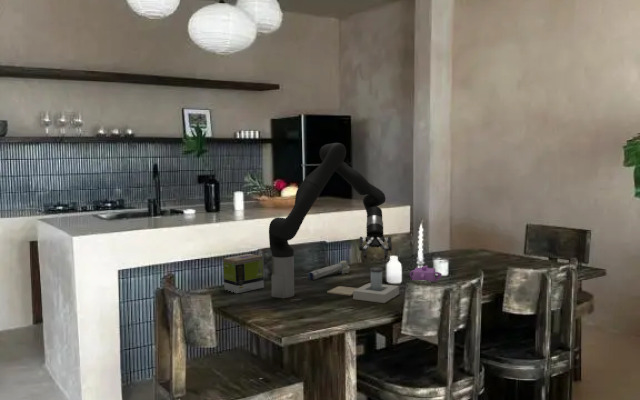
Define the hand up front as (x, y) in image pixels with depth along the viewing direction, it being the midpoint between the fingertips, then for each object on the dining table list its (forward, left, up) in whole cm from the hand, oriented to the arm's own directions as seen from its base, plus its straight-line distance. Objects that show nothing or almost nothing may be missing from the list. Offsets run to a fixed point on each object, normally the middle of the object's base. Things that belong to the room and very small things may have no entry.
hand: (375, 257), depth 263 cm
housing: (-9, -4, -15) cm, 18 cm away
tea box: (-23, +54, -15) cm, 60 cm away
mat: (-7, +12, -15) cm, 20 cm away
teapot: (+13, -18, -15) cm, 27 cm away
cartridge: (-9, -4, -15) cm, 18 cm away
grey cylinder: (+18, +32, -15) cm, 40 cm away
